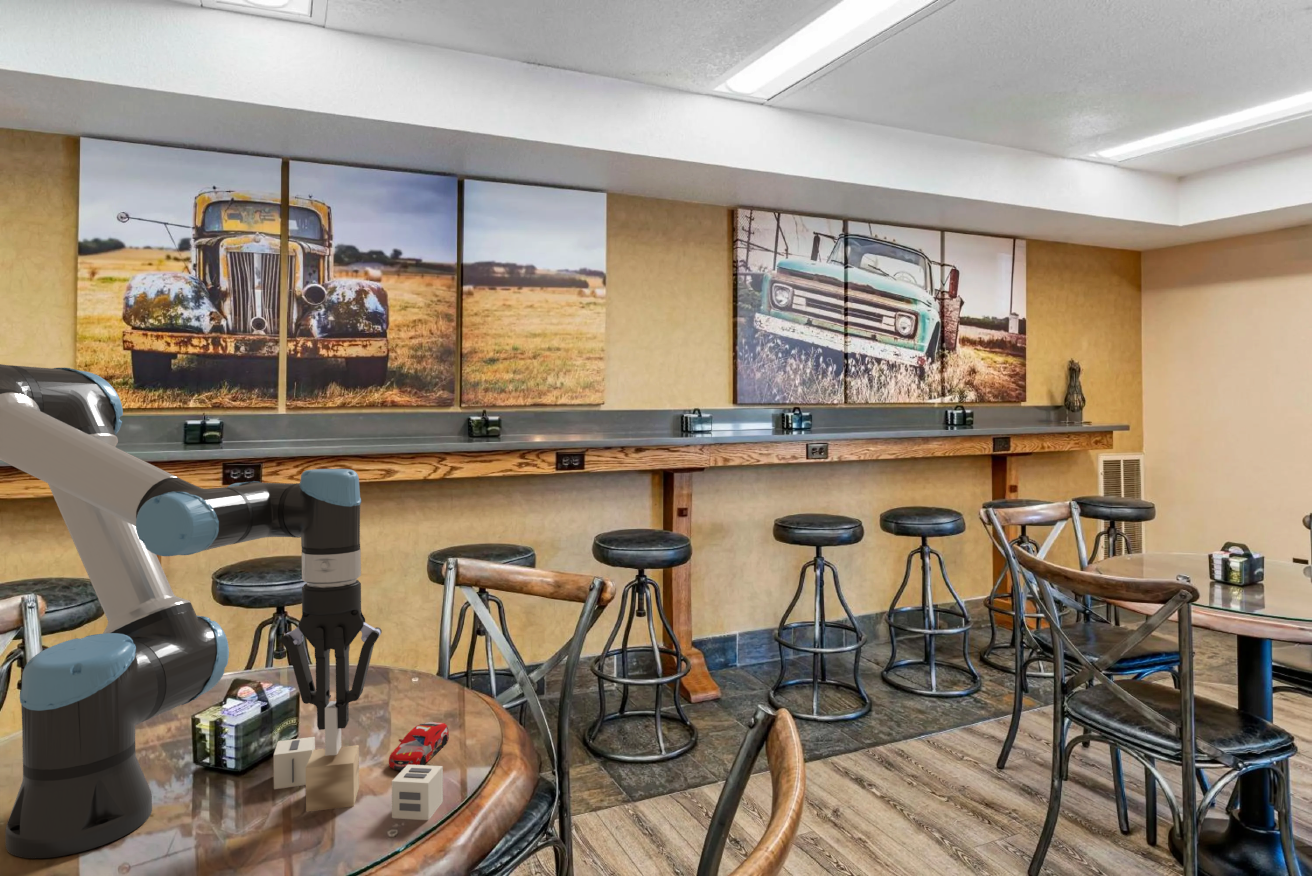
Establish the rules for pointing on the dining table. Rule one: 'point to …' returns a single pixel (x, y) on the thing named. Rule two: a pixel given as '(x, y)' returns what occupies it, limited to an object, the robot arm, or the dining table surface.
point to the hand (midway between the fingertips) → (333, 751)
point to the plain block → (332, 779)
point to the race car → (419, 745)
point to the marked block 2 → (417, 792)
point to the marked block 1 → (292, 762)
